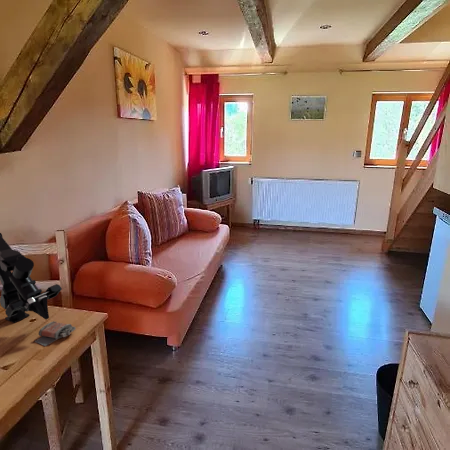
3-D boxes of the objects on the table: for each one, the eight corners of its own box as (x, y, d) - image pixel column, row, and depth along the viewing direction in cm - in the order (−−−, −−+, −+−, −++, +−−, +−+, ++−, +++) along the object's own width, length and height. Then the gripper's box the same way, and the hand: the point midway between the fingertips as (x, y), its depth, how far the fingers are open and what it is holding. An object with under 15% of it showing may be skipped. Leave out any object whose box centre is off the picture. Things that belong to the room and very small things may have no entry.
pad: (34, 341, 121) (34, 341, 121) (59, 327, 130) (59, 327, 130) (45, 346, 119) (45, 345, 119) (70, 332, 127) (69, 331, 127)
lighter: (39, 338, 123) (62, 342, 120) (38, 329, 122) (61, 333, 119) (55, 327, 130) (77, 331, 128) (54, 319, 129) (77, 322, 127)
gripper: (40, 285, 136) (62, 317, 134) (-9, 305, 120) (14, 341, 118) (50, 270, 130) (73, 303, 128) (0, 289, 115) (24, 327, 112)
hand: (47, 318), depth 122 cm, fingers closed
